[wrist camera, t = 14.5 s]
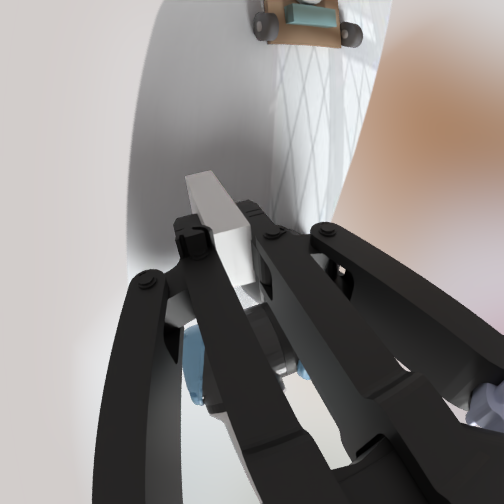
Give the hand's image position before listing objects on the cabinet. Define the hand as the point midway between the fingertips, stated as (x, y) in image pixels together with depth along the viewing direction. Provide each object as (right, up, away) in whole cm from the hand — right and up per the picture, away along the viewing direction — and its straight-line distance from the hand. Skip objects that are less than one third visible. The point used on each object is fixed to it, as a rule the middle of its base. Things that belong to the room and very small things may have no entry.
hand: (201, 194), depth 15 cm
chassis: (+10, +35, +12) cm, 38 cm away
